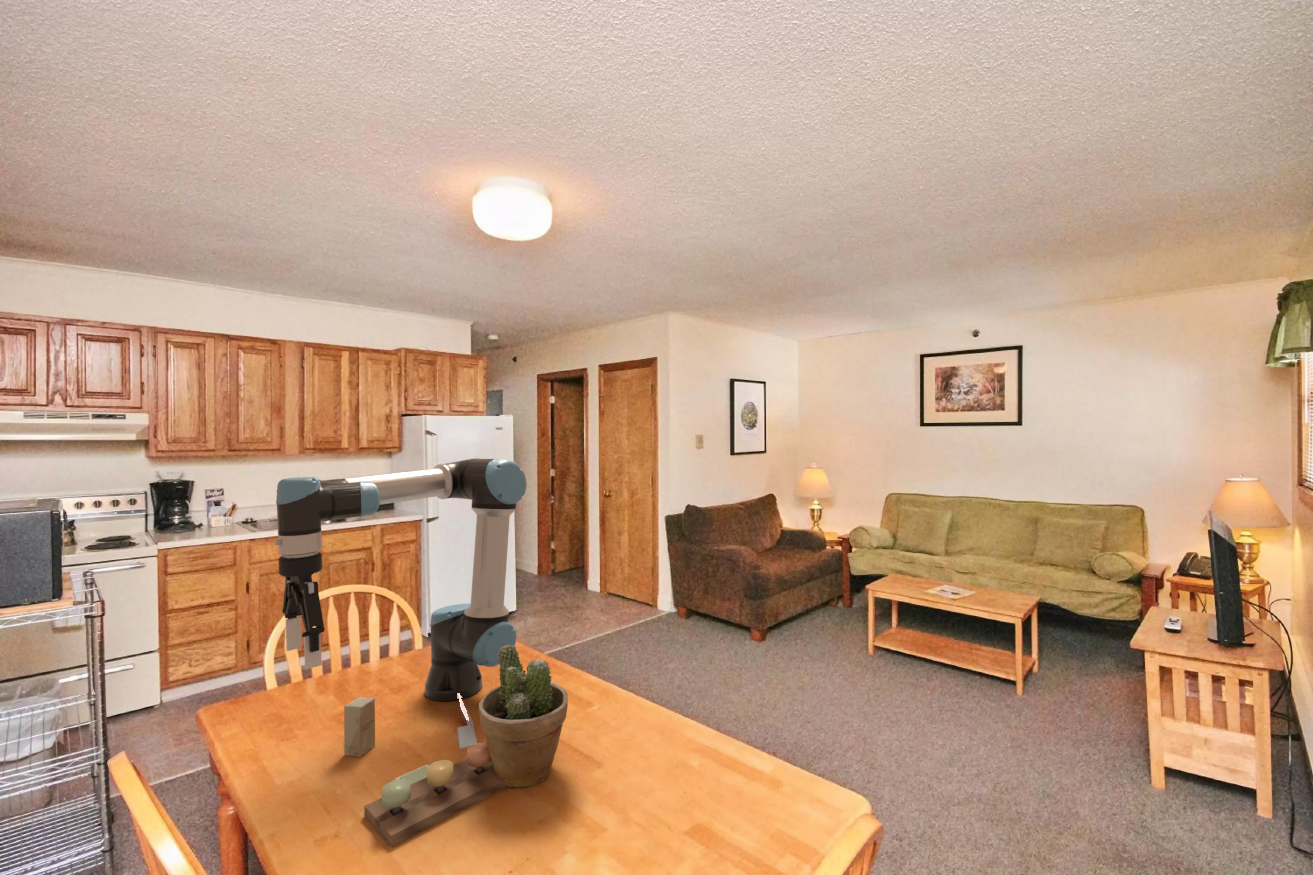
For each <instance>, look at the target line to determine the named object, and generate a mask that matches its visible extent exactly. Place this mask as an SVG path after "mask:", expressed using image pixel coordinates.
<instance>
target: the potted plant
mask: <svg viewBox="0 0 1313 875" xmlns="http://www.w3.org/2000/svg"><path fill="white" fill-rule="evenodd" d="M497 658H499V660H498V661H499V672H500V673H499V674H498V675H499V682H500V685H499V686H498V685H497V686H496V687H495V688H492V689H490V690H489V691H488V692H487V693H485V694H484V695H483V696H482V698H481V699H480V702H479V703H478V714H479V719H480V720H479V721H480V723H479V724H480V729H481V731H482V732H483V733H484V737H485V743H487V746H488V750H489V753H490V758H491V762H492V765H493V768H494V771H495V773H496V774H497V775H498V776H499V777H501V778H504V781H505V785H507V787H510V788H531V787H533V786H536V785H538V784H540V783H542V782H543V781H544V780H546V778H547V777H548V776H549V773H550V771H551V770H552V766H553V762H554V760H555V755H556V753H557V749H558V745H559V741H560V737H561V735H562V734H561V733H562V729H563V724H564V722H565V721H566V719H567V713H568V704H569V703H568V702H569V693H568V691H567V690H566V689H565V688H564V687H562V686H561V685H559V684H557V683H555V682H552V677H553V676H552V675H550V674H551V673H552V671H550V670H551V669H552V667H551V666H550V665H549V662H547V660H543V659H541V658H540V659H539V658H536V659H532V660H531V661H530V662H529V663H528V664H527V665H526V670H524V667H523V666H522V665H523V664H522V663H521V660H520V657H519V651H517V648H516V646H515V647H514V646H512V645H508V646H503V647H501V648H500V650H499V652H498V656H497Z"/></svg>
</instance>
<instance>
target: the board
mask: <svg viewBox="0 0 1313 875" xmlns="http://www.w3.org/2000/svg"><path fill="white" fill-rule="evenodd" d="M507 787H508V786H507V785H505V781H504V778H501V777H499V776H498V775H497V774H496V773H495V771H494V768H493V765H492V762H490V763H488V764H487V765H485V766H483V772H481V773H477V772H476V767H471V766H469V765H468V763H467V758H466V759H464V760H461V761H460V762H457V763H454V764H453V779H452V780H451V781H450V782H449V783H447V784H445V785H444V791H443V792H437V787H434V786H430V785H428V783H427V777H426V778H424V779H422V780H420V781H418V782H415V783H413V784H411V797H410V799H409V801H408V802H407V803H405V804H403V805H401V811H400V812H399V813H397V814H393V808H387V807H384V806H383V805H382V797H381V798H378V799H375V801H372V802H370V803H368V804H365V805H363V806H364V807H363V808H364V809H363V810H364V814H363V815H364V818H365V819H366V820H367V821H368V822H369V824H370V825H371V826H372V827H373V828H374V829H375V830H376V832H377V833H378V834H379V835H380V836H381V837H382V838H383V839H384V840H385V842H386V843H387V844H388V845H389V846H390V848H393V847H395V846H397V845H398V844H400V843H402V842H404V841H406V840H408V839H410V838H412V837H413V836H416V835H417V834H419V833H421V832H424V831H425V830H427V829H429V828H431V827H432V826H435V825H436V824H438V823H440V822H442V821H445V820H446V819H448V818H451V817H452V816H454V815H456V814H458V813H460V812H461V811H463V810H465V809H468V808H470V807H471V806H473V805H475V804H477V803H478V802H479V803H480V802H481V801H482V800H484V799H487V798H488V797H490V796H492V795H494V794H496V793H497V792H499V791H501V790H503V789H506V788H507Z"/></svg>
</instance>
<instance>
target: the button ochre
mask: <svg viewBox="0 0 1313 875" xmlns="http://www.w3.org/2000/svg"><path fill="white" fill-rule="evenodd" d="M428 765H429V766H428V768H427V783H428V785H430V786H434V787H437V792H443V791H444V785H445V784H447V783H449V782H450V781H451V780H452V779H453V765H454V762H453V761H451V760H450V759H449V760H448V759H441V760H436V761H433V762H432V763H430V764H428Z"/></svg>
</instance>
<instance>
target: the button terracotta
mask: <svg viewBox="0 0 1313 875" xmlns="http://www.w3.org/2000/svg"><path fill="white" fill-rule="evenodd" d="M466 750H467V752H466V753H467V754H466V756H467V758H466V759H467V763H468V765H469V766H471V767H476V772H477V773H481V772H483V766H485V765H487V764H488V763H490V762H491V758H490V753H489V750H488V746H487V742H478V743H474V744H472V745H470V746H469V747H468V748H467V749H466Z"/></svg>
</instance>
